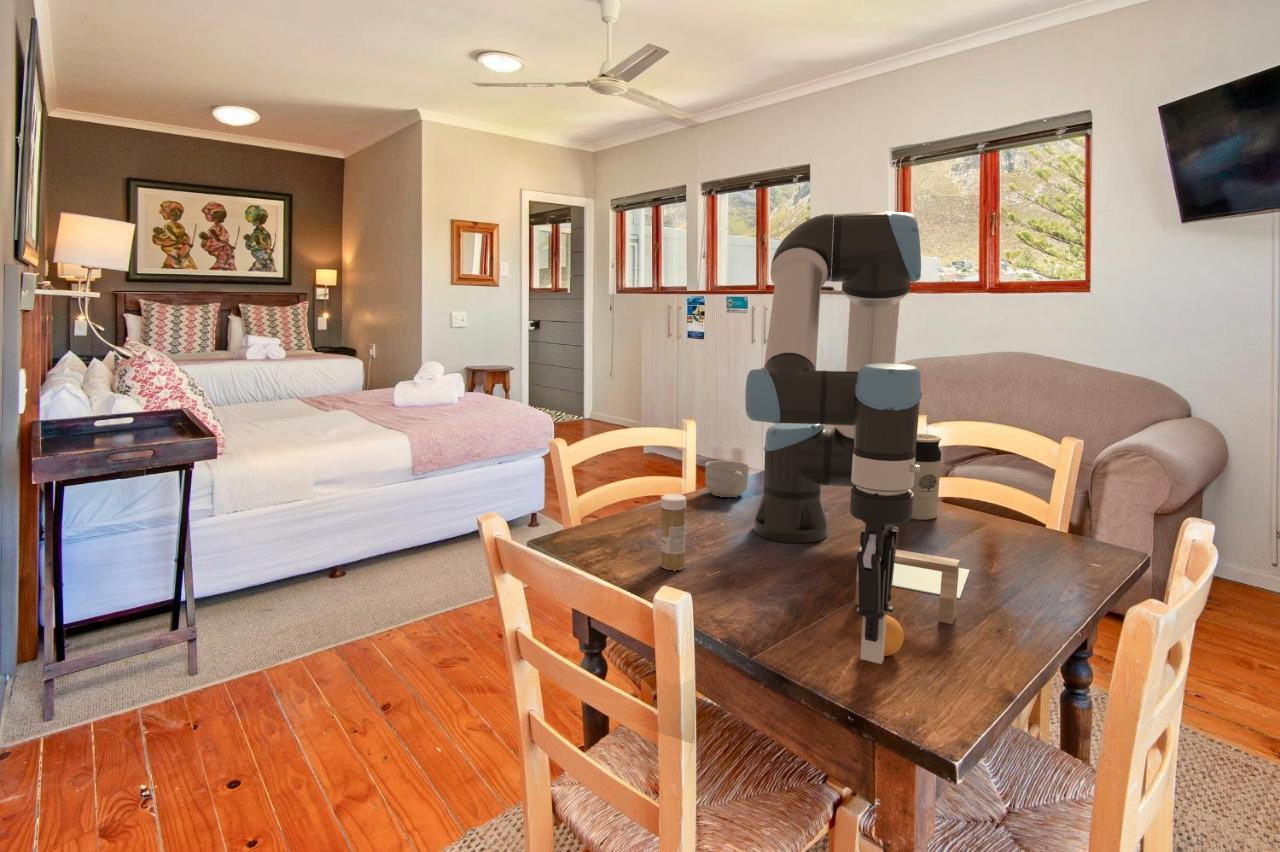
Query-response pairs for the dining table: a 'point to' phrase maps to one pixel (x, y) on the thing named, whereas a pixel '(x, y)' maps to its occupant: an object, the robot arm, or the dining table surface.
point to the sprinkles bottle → (673, 531)
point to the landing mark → (924, 579)
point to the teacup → (726, 478)
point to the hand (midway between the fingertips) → (872, 658)
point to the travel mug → (926, 477)
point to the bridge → (947, 580)
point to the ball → (893, 636)
